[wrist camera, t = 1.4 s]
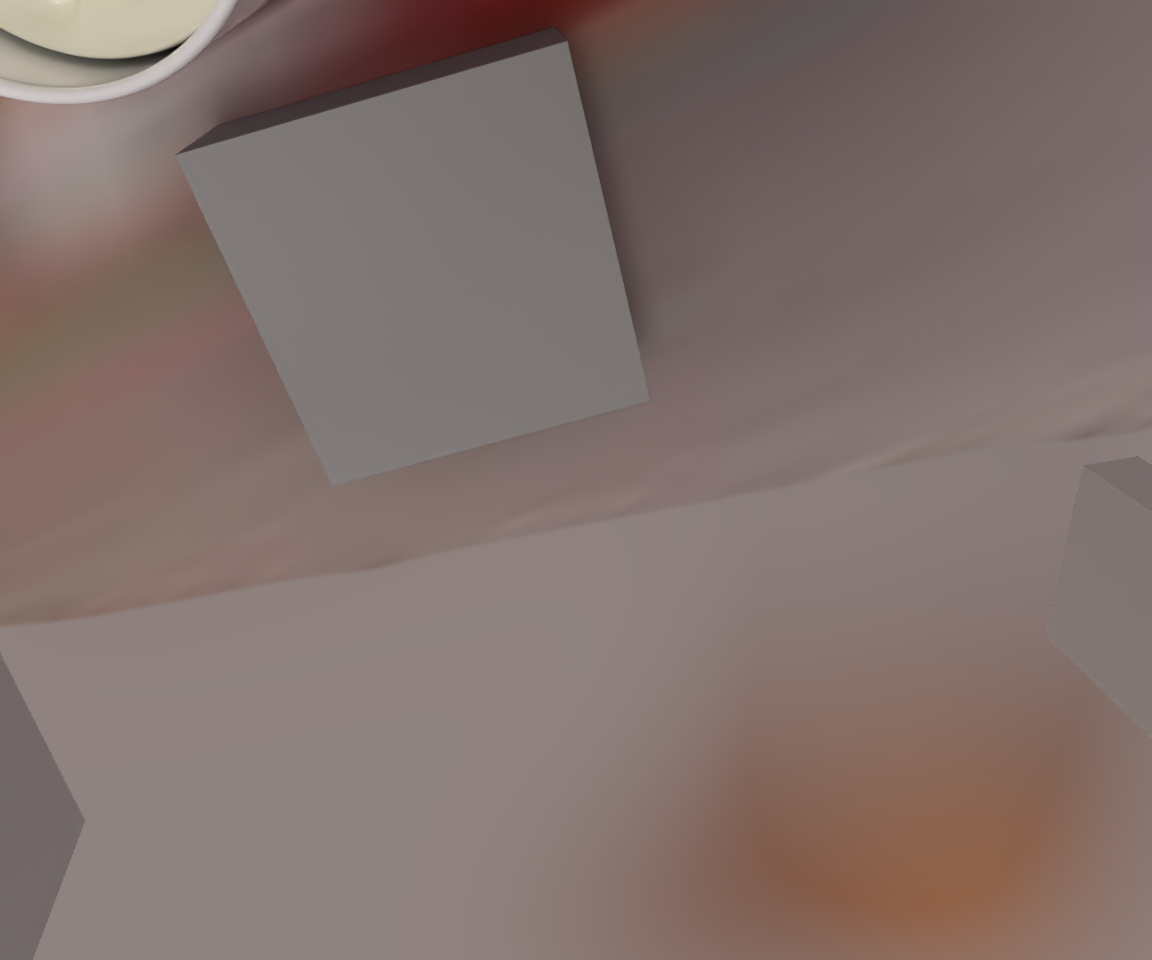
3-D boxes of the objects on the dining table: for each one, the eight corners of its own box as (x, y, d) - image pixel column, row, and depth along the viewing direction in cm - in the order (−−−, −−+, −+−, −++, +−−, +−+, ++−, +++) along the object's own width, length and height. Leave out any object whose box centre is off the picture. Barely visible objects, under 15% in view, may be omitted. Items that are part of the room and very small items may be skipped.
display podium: (554, 26, 30) (567, 41, 26) (630, 346, 36) (650, 400, 32) (217, 125, 31) (175, 155, 26) (349, 423, 37) (332, 486, 33)
